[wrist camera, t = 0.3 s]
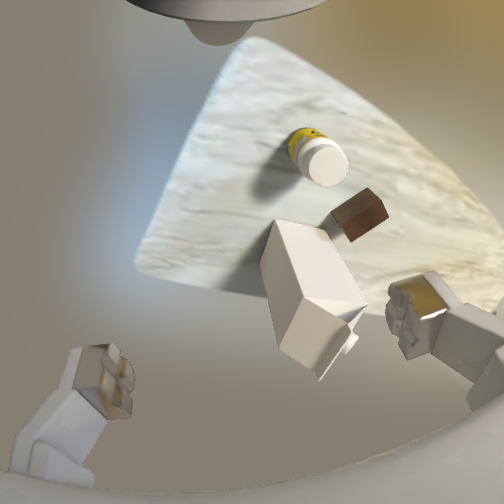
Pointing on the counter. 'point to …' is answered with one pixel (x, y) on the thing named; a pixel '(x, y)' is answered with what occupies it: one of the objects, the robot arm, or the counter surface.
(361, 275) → the counter surface
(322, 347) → the milk carton
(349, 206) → the brown wooden block
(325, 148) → the supplement bottle
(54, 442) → the robot arm
